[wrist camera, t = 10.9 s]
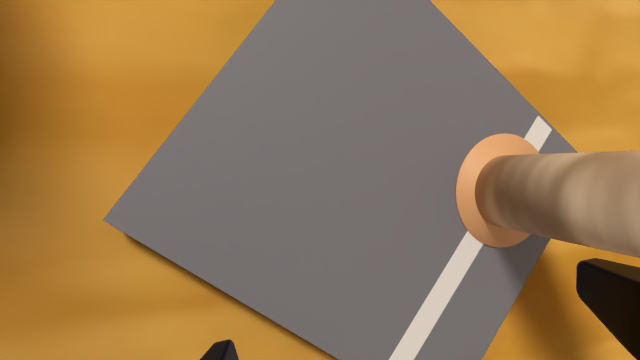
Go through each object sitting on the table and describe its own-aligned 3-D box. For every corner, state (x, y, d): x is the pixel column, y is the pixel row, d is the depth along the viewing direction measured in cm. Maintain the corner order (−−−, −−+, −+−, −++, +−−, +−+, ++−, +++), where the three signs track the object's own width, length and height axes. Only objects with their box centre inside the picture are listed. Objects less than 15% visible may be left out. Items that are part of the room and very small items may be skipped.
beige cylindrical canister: (509, 242, 21) (857, 335, 10) (460, 200, 20) (788, 249, 8) (545, 182, 22) (911, 202, 10) (499, 138, 21) (855, 104, 9)
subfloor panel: (430, 405, 22) (446, 423, 20) (112, 215, 16) (101, 220, 15) (569, 166, 24) (592, 166, 23) (334, -68, 19) (345, -89, 17)
